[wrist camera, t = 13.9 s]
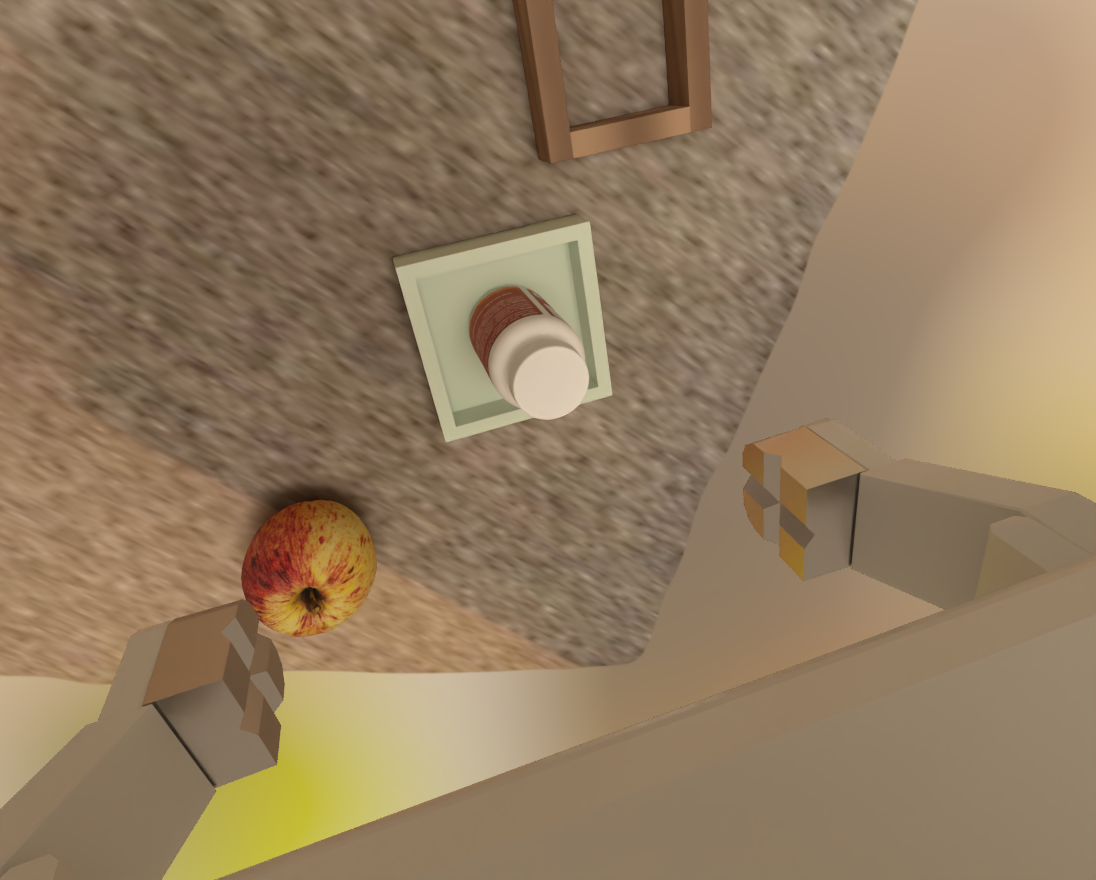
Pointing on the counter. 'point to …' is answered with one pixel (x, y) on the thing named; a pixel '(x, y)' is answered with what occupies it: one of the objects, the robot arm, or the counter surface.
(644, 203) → the counter surface
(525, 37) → the collar
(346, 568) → the apple
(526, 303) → the pill bottle
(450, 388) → the tray
